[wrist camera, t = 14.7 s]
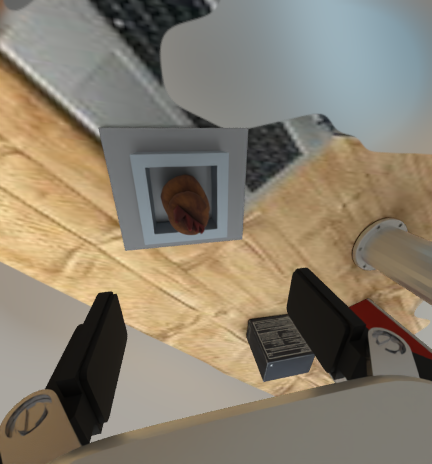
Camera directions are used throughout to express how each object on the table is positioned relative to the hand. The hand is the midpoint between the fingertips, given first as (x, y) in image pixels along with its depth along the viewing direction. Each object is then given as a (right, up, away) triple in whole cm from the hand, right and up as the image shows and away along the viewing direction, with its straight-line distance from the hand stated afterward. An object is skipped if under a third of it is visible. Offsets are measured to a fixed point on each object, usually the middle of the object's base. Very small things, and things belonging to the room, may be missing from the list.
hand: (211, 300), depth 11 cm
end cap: (-5, +10, +22) cm, 24 cm away
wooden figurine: (-5, +10, +21) cm, 24 cm away
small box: (+13, -19, +39) cm, 46 cm away
